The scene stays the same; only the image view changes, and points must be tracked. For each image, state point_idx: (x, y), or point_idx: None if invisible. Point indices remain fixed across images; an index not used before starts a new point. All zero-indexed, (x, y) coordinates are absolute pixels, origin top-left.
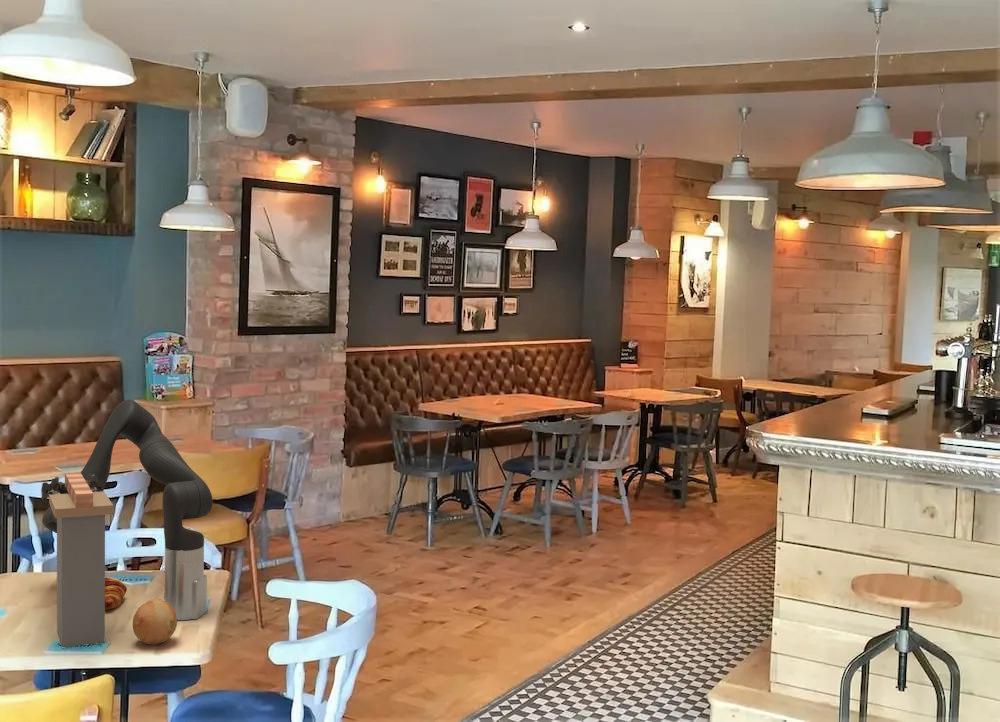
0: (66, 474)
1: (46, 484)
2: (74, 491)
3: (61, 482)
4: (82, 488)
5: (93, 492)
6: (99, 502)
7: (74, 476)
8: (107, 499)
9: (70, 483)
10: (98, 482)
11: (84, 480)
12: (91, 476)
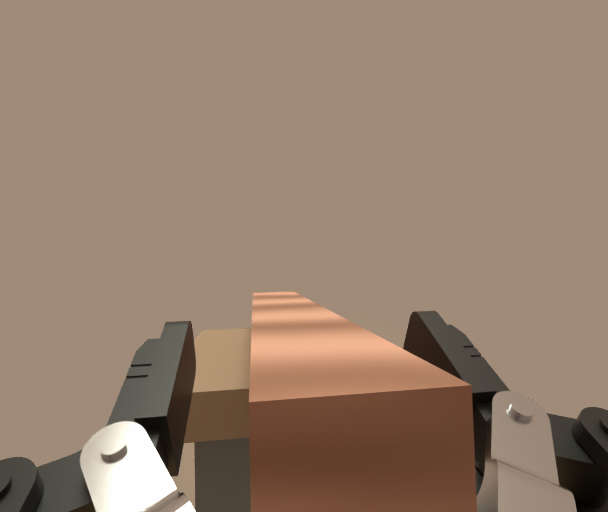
0: (411, 359)
1: (569, 419)
2: (298, 294)
3: (495, 488)
4: (275, 297)
5: (210, 386)
6: (229, 337)
7: (314, 335)
8: (195, 346)
9: (319, 305)
10: (71, 466)
11: (256, 314)
12: (190, 334)
